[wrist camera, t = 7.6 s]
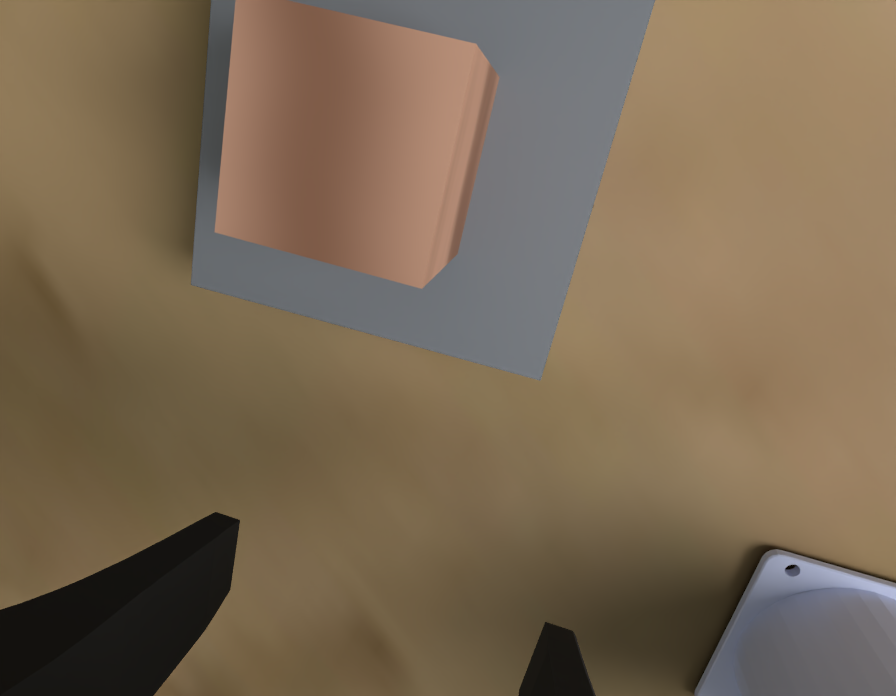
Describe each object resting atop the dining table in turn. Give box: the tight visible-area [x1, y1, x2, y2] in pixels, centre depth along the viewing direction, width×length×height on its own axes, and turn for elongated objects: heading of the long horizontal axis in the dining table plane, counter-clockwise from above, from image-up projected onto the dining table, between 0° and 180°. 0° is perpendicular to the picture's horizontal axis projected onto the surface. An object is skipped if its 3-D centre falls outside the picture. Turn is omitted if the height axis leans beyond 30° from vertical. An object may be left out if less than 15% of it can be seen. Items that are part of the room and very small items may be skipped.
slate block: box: [191, 0, 655, 380], centre depth 18 cm, size 12×12×3 cm
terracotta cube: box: [215, 0, 500, 289], centre depth 15 cm, size 5×5×5 cm
